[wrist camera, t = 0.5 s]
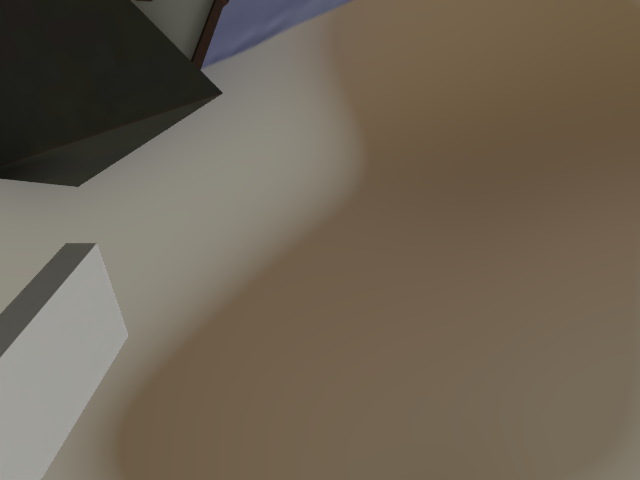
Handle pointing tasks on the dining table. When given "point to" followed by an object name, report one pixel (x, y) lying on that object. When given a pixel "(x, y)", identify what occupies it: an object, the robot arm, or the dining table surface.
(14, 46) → the miniature building
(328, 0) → the dining table surface
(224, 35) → the dining table surface
